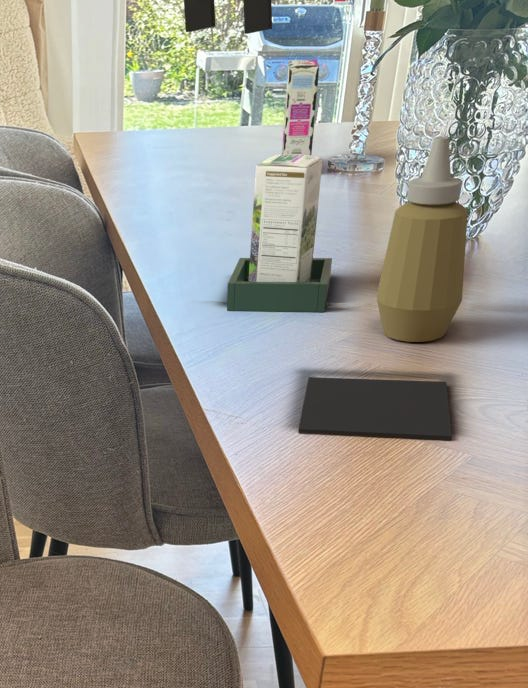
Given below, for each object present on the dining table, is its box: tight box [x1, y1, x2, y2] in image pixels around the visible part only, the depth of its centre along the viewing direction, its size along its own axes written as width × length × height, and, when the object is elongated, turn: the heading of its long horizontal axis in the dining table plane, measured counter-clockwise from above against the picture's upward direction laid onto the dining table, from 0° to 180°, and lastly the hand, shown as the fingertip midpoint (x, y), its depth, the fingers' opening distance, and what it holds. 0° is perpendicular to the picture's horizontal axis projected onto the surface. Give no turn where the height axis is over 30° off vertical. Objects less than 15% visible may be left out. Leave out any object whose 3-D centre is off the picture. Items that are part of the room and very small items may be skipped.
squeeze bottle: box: [376, 136, 468, 343], centre depth 95 cm, size 8×8×18 cm
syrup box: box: [247, 153, 324, 282], centre depth 109 cm, size 6×6×14 cm
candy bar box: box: [281, 59, 320, 156], centre depth 167 cm, size 11×5×16 cm, turn 169°
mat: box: [297, 376, 453, 441], centre depth 85 cm, size 12×12×1 cm
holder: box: [226, 257, 333, 313], centre depth 112 cm, size 11×11×3 cm
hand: (230, 30), depth 97 cm, fingers open, 13 cm apart
